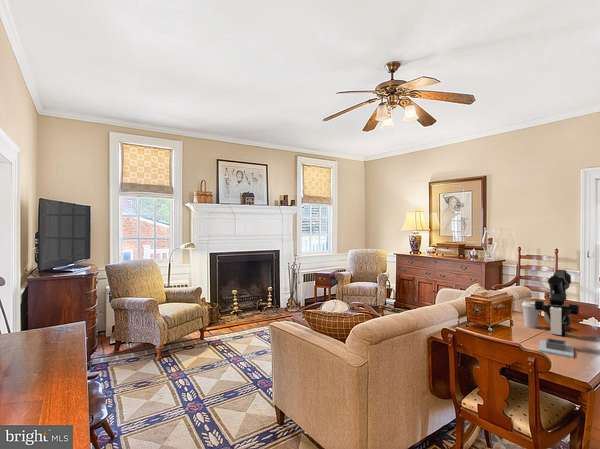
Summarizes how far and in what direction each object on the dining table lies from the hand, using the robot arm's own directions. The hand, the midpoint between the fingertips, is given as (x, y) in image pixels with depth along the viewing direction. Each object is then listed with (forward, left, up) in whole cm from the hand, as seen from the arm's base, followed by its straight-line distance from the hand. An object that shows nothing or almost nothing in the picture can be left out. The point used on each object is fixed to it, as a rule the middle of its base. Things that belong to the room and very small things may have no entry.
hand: (555, 321), depth 180 cm
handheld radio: (-45, -11, -14) cm, 48 cm away
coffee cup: (-31, -21, -14) cm, 40 cm away
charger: (-1, 0, -7) cm, 7 cm away
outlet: (+4, +1, -13) cm, 14 cm away
